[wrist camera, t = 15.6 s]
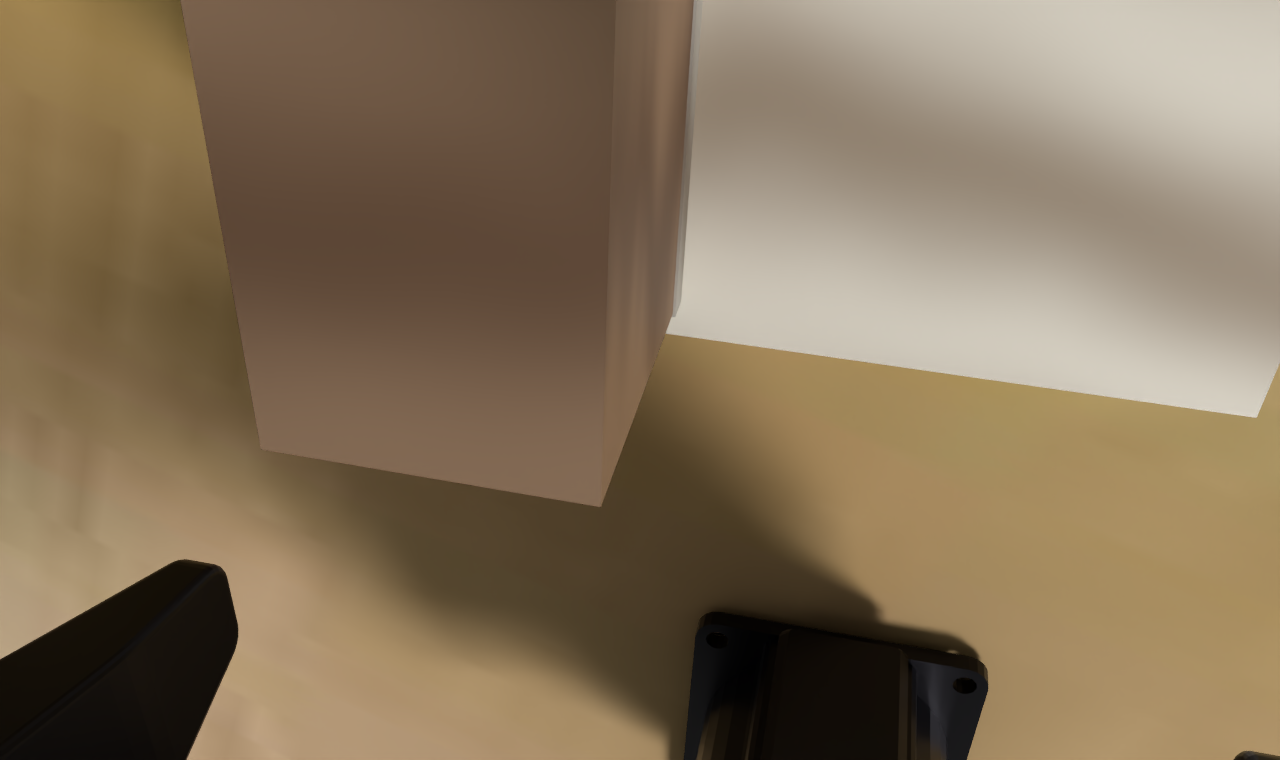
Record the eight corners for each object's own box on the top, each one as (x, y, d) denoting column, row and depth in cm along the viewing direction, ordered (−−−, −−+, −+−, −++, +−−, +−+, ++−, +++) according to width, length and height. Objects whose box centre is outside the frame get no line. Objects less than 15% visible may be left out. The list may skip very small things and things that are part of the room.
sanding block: (681, 301, 20) (604, 510, 15) (413, 263, 21) (257, 451, 16) (711, -124, 16) (621, -24, 12) (381, -152, 17) (163, -70, 12)
